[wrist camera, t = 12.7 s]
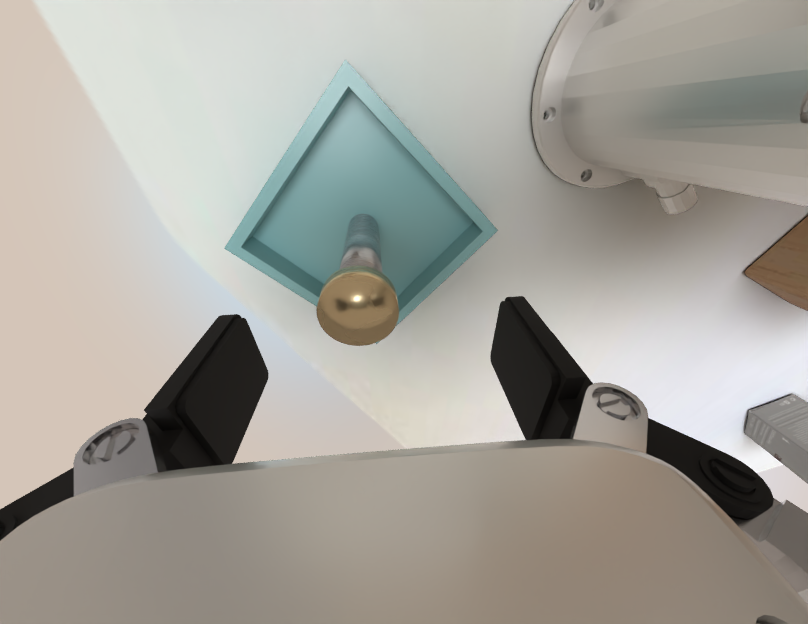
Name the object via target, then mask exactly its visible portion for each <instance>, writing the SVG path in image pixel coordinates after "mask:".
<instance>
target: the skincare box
mask: <svg viewBox="0 0 808 624" xmlns="http://www.w3.org/2000/svg"><path fill="white" fill-rule="evenodd" d="M745 434H746V435H747V436H748V437H750V438H751V439H752V440H753V441H755V442H756V443H757V444H758V445H760V446H761V447H762V448H764V449H765V450H766V451H767V452H769V453H770V454H771V455H772V456H774V457H775V458H776V459H777V460H779V461H780V462H781V463H782V464H784V465H785V466H786V467H788V468H789V469H790V470H791V471H792V472H794V473H795V474H796V475H797V476H799V477H800V478H801V479H802V480H804V481H805V482H806V483H808V402H806V401H804V400H803V399H801V398H799V397H798V396H796V395H794V394H793V395H790V396H787V397H784V398H782V399H779V400H777V401H774V402H772V403H769V404H766V405H763V406H760V407H757V408H754V409H751V410H749V414H748V420H747V425H746V429H745Z"/></svg>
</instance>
